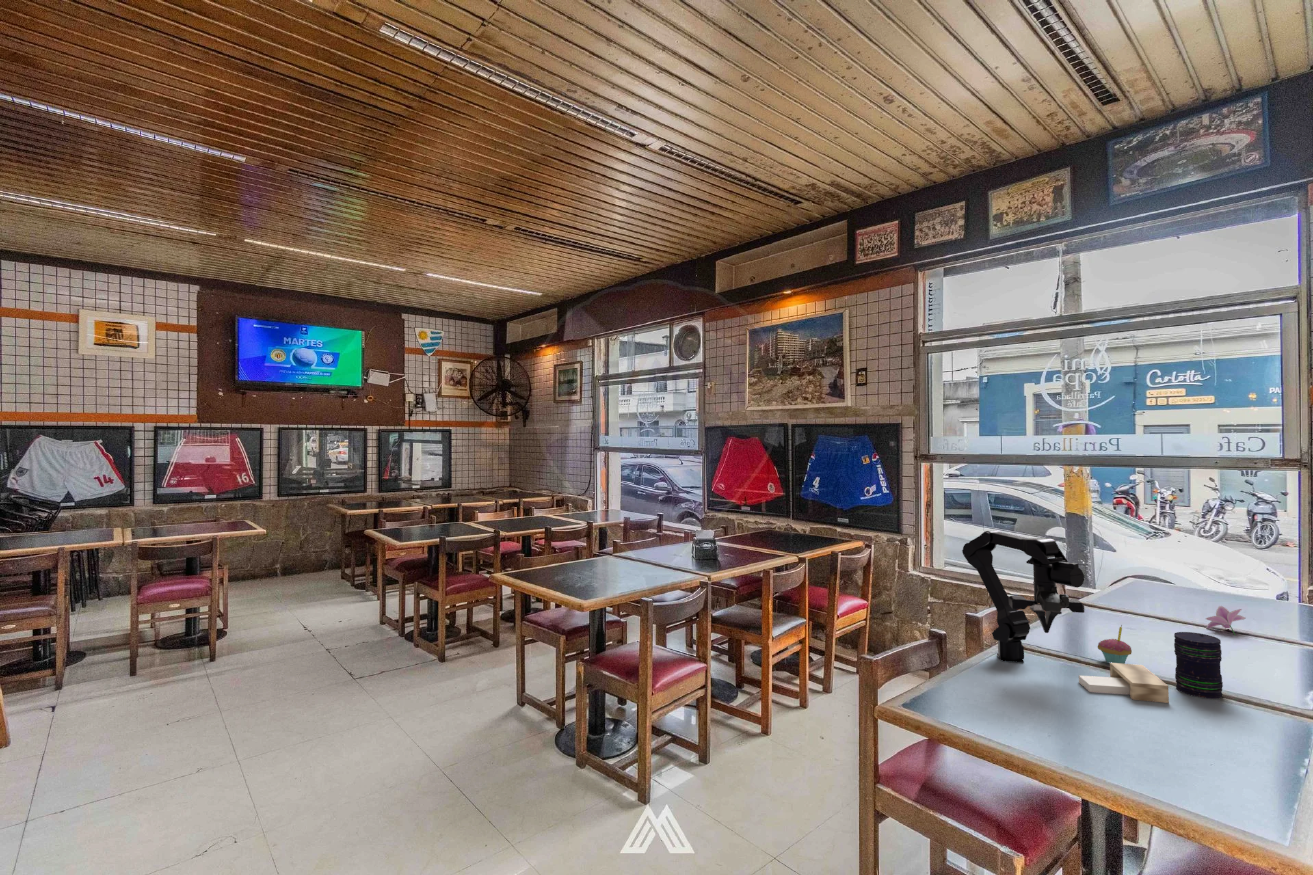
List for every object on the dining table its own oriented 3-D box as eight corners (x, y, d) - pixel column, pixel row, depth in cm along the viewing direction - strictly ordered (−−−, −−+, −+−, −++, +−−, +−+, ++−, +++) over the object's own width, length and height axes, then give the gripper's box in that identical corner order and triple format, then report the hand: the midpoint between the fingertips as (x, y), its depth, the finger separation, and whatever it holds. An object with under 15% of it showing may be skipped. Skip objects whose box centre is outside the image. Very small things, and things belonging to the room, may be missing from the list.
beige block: (1132, 699, 165) (1132, 682, 165) (1110, 677, 180) (1109, 662, 180) (1168, 702, 162) (1168, 685, 163) (1143, 680, 178) (1142, 665, 178)
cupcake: (1126, 659, 195) (1124, 621, 195) (1137, 668, 187) (1135, 629, 187) (1094, 656, 198) (1093, 619, 198) (1103, 665, 190) (1102, 626, 190)
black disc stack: (1212, 701, 163) (1210, 645, 163) (1168, 689, 171) (1166, 635, 172) (1230, 694, 167) (1228, 638, 167) (1185, 682, 176) (1184, 629, 176)
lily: (1254, 636, 218) (1240, 609, 223) (1256, 630, 210) (1242, 602, 215) (1211, 641, 224) (1199, 615, 229) (1212, 636, 216) (1199, 609, 221)
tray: (1089, 693, 171) (1089, 684, 171) (1079, 684, 177) (1078, 675, 177) (1157, 698, 167) (1156, 688, 167) (1143, 688, 174) (1143, 679, 174)
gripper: (1015, 584, 181) (1017, 638, 181) (1090, 588, 175) (1091, 643, 175) (1007, 577, 192) (1009, 627, 191) (1077, 580, 186) (1079, 631, 185)
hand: (1046, 632), depth 186 cm, fingers closed
